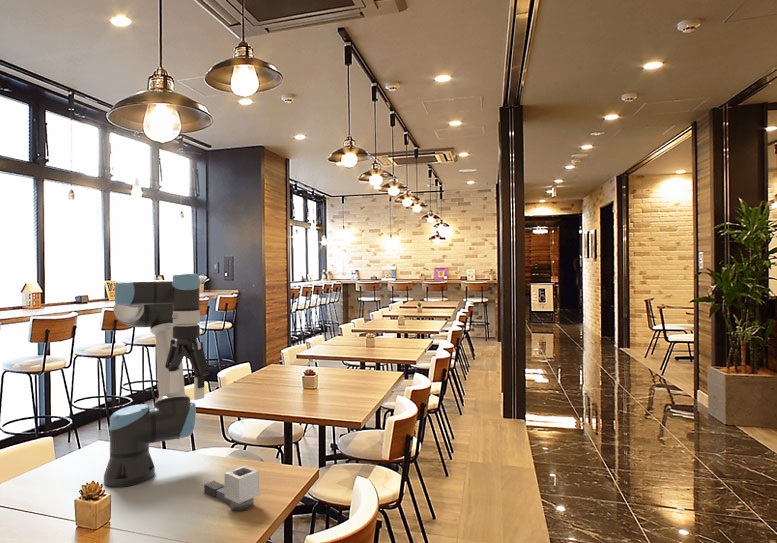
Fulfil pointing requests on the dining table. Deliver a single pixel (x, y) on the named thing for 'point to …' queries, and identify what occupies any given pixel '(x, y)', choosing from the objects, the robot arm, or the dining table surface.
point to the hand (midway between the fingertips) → (186, 395)
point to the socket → (241, 484)
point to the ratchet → (219, 493)
